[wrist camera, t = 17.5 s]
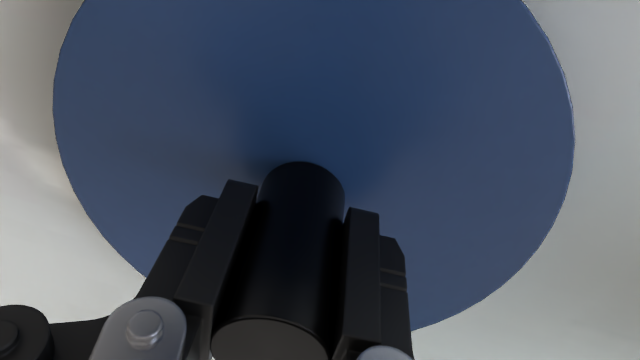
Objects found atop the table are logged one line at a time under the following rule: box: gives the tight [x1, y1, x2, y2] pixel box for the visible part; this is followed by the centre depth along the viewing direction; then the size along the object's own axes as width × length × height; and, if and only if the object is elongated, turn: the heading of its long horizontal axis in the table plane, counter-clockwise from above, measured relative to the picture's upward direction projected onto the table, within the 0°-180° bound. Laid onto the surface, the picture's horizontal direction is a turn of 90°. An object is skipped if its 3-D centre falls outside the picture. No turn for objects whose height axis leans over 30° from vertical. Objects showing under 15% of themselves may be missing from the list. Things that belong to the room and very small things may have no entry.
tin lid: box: [53, 0, 575, 360], centre depth 10 cm, size 14×14×6 cm
